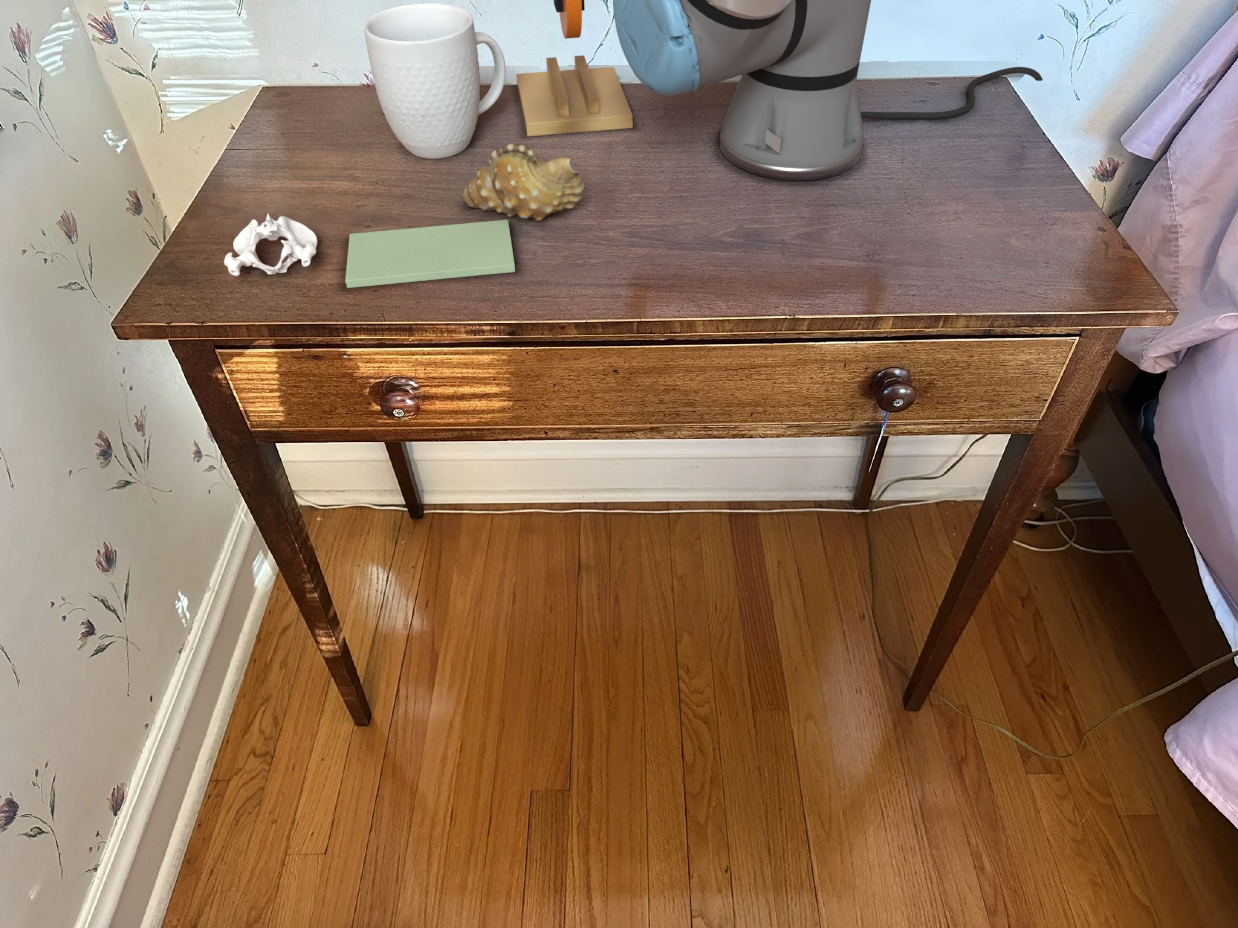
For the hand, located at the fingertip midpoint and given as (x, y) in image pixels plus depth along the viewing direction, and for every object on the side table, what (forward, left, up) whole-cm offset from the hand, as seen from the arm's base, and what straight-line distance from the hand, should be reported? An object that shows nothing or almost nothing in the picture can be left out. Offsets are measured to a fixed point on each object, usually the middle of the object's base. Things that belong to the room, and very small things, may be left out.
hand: (569, 7), depth 98 cm
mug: (+15, +7, -11) cm, 20 cm away
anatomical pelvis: (+31, +29, -11) cm, 44 cm away
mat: (+17, +30, -11) cm, 36 cm away
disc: (0, 0, -3) cm, 3 cm away
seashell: (+6, +22, -7) cm, 24 cm away
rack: (0, 0, -11) cm, 11 cm away
